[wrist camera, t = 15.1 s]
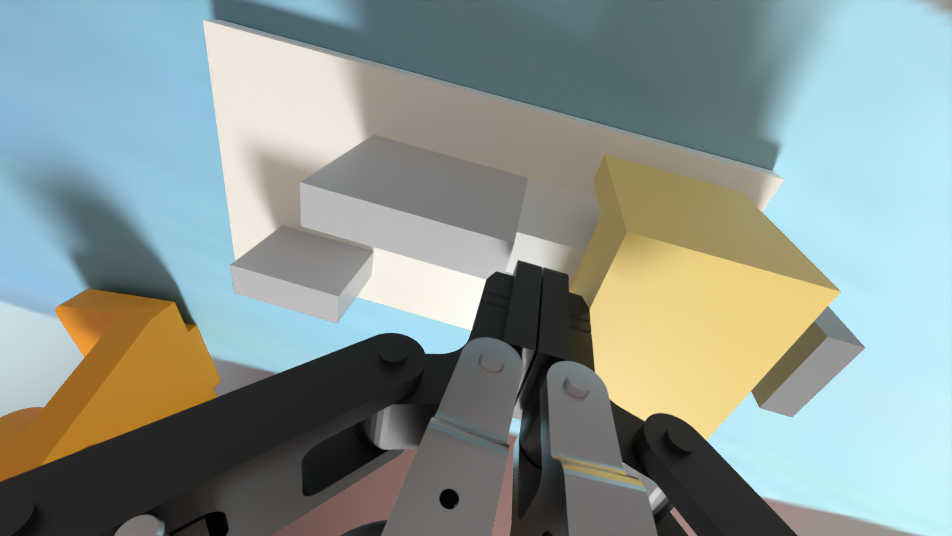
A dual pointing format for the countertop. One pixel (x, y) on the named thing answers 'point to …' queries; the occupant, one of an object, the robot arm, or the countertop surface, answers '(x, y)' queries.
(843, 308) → the countertop surface
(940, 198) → the countertop surface
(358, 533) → the robot arm
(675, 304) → the yellow block
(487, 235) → the rail plate
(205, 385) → the bracket
